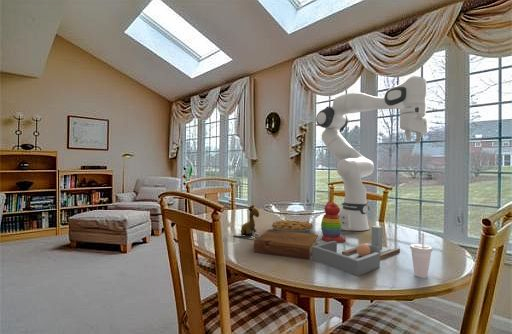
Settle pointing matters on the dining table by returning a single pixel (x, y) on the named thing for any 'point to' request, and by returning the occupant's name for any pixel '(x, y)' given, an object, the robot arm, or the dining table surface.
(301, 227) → the pie
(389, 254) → the lane
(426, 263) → the smoothie
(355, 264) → the grey walled tray
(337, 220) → the stacking bear
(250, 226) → the stuffed giraffe
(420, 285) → the dining table surface
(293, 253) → the diary
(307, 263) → the dining table surface
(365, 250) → the ball
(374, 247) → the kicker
